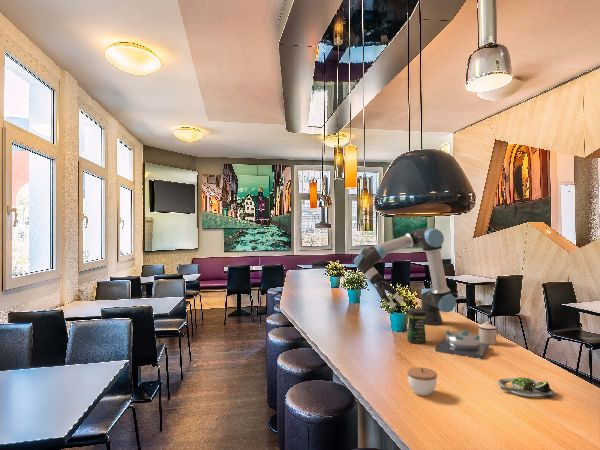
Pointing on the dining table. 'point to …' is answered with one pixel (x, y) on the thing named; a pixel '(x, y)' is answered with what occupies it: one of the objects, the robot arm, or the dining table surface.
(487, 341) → the teacup with lid
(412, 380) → the lidded jar
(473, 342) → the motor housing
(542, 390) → the salad plate
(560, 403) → the dining table surface
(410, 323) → the coffee jar
